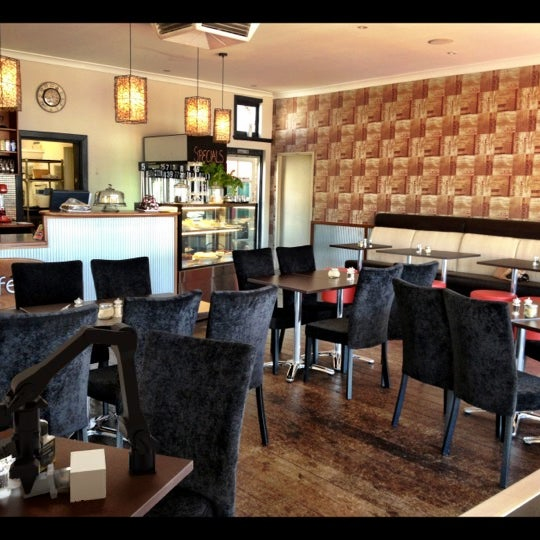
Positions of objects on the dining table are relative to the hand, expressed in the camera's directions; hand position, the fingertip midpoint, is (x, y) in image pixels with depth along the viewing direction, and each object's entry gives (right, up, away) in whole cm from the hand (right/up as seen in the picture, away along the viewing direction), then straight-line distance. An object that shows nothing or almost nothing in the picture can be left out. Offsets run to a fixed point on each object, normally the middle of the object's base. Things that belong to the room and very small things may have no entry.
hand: (28, 490), depth 138 cm
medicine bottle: (-5, 0, +17) cm, 17 cm away
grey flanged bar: (+6, -2, +2) cm, 6 cm away
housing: (+13, -1, +5) cm, 14 cm away
